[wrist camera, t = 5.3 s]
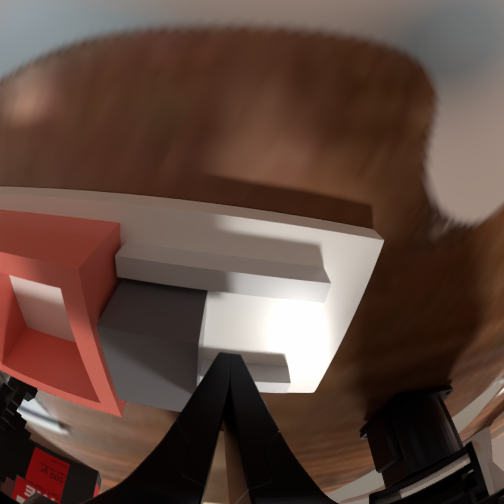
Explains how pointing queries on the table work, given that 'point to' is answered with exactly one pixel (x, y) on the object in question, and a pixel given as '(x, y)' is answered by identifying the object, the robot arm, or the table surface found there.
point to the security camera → (14, 430)
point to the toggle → (154, 342)
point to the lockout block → (218, 476)
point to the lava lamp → (488, 457)
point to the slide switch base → (177, 274)
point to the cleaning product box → (54, 479)
